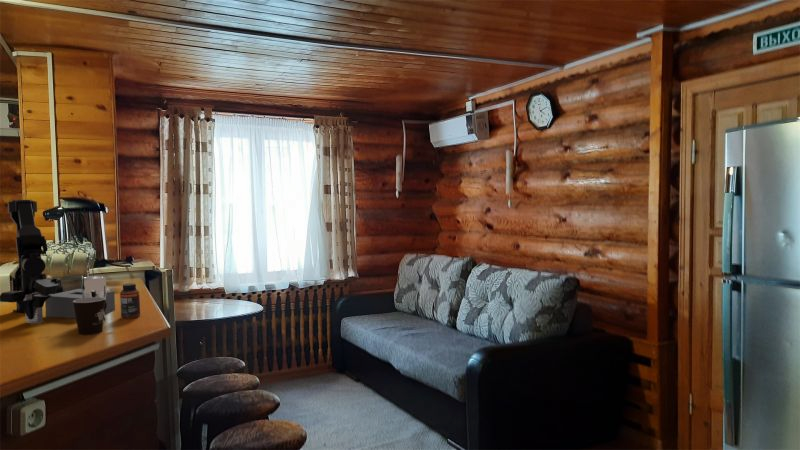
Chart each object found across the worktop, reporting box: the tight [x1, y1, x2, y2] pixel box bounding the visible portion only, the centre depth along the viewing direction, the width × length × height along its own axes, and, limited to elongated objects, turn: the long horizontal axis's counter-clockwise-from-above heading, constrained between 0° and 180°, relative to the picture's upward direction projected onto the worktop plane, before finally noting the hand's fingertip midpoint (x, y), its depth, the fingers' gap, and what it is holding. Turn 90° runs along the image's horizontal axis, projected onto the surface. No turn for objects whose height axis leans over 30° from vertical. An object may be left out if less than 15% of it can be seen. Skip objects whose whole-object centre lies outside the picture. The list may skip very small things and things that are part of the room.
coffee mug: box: [73, 297, 107, 336], centre depth 176 cm, size 12×9×10 cm
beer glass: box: [81, 275, 107, 324], centre depth 186 cm, size 7×7×15 cm
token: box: [24, 306, 44, 325], centre depth 188 cm, size 5×2×5 cm, turn 73°
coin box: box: [44, 288, 116, 319], centre depth 201 cm, size 16×14×7 cm
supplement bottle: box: [119, 282, 141, 320], centre depth 195 cm, size 6×6×11 cm
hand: (34, 318), depth 188 cm, fingers closed on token, 2 cm apart
